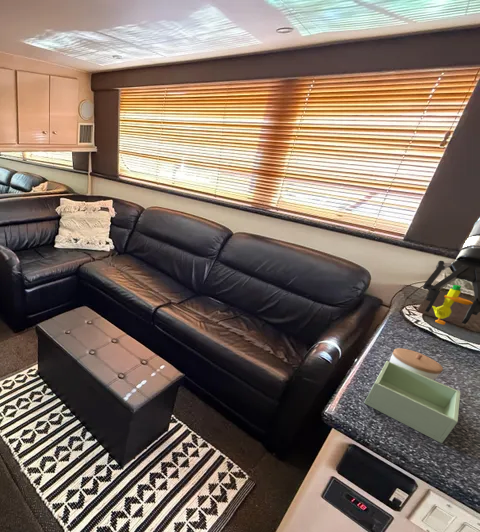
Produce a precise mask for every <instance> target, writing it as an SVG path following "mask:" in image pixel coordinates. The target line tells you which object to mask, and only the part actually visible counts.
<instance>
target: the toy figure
mask: <svg viewBox="0 0 480 532" xmlns="http://www.w3.org/2000/svg"><path fill="white" fill-rule="evenodd" d="M461 288H462V286H461V285H457V284H453V285H452V287H450V289H449V290H448V291H447V294H444V296H443V298H444V300H443V303H442V304H441V305H440V306H437V307H436V306H435V305H432V307H431V308H432V309H433V312H434V315H435V317H436V318H437V319H435V321H434V323H437V324H438V325H442V326H445V325H446V321H444V320H443V319H446V318H450V316H451V315H452V312H453V311H452V309H451V307H452V306H453V305H454V303H457V304H458V303H459V304H461V305H465V306H469V305H470V306H471V304H473V302H474V301H472V300H470V299H466V298H463V297H460V294H461V292H462V289H461Z"/></svg>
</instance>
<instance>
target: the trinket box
mask: <svg viewBox="0 0 480 532" xmlns="http://www.w3.org/2000/svg"><path fill="white" fill-rule="evenodd" d="M388 361H389V362H392V363H394V364H396V365H399V366H401V367H403V368H406V369H408V370H410V371H413V372H415V373H417V374H420V375H422V376H425V377H427V378H429V379H432V380H434V381H436V380H437V378H438V377H439V376H440V374H441V373H442V372H443V370H444V368H443V366H442V364H440V363H439V362H438V361H436V360H435V359H433V358H432V357H429V356H427V355H425V354H423V353H420V352H417V351H414V350H411V349H408V348H401V347H400V348H399V347H397V348H395V349H393V350H392V354H391V356H390V358H389V360H388Z"/></svg>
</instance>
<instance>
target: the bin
mask: <svg viewBox="0 0 480 532" xmlns="http://www.w3.org/2000/svg"><path fill="white" fill-rule="evenodd" d="M389 361H390V360H386V361H385V363H384V364H383V367H382V368H381V370H380V372H379V374H378V376H377V377H376V379H375V381H374V383H373V385H372V387H371V389H370V390H369V392H368V394H367V396H366V398H365V400H364V402H363V404H364V405H366V406H368V407H370V408H372V409H374V410H376V411H378V412H380V413H382V414H384V415H386V416H388V417H389V418H391V419H393V420H396V421H398V422H399V423H401V424H403V425H405V426H407V427H409V428H411V429H413V430H415V431H416V432H419V433H421V434H423V435H425V436H427V437H428V438H431V439H432V440H435V441H436V442H438V443H440V444H443V443H444V442H445V440H446V439H447V438H448V436H449V435H450V433H451V432H452V431H453V429H454V428H455V426H456V425H457V424H458V422H459V412H460V401H461V391H460V390H457V389H455V388H453V387H451V386H448V385H446V384H443V383H441V382H439V381H437V380H432V379H429V378H427V377H425V376H422V375H420V374H417V373H415V372H413V371H410V370H408V369H406V368H403V367H401V366H399V365H396V364H394V363H392V362H389Z"/></svg>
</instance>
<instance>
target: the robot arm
mask: <svg viewBox="0 0 480 532" xmlns="http://www.w3.org/2000/svg"><path fill="white" fill-rule="evenodd" d="M447 269H449V270H450V271H451V273H450V274H449V275H447V276H446V277H444V278H443V279H441V280H440V281H438V282H437V283H436V284H434V283H435V280H437V279H438V277H439V276H440V275H441V273H442V271H446V270H447ZM456 280H462V281H466V282H470V283H471V285H472V287H473V288H472V289H473V295H474V300H473V301H472V302H473V304H470V306H469V308H468V310H467V311H466V313H465V315H464V317H463V320H462V321H461V324H464V325H466V324H467V323H468V322H469V321H470V319H471V317H472V315H474V316H478V315H479V314H480V217H479V218H478V219H477V220H476V222H475V223H474V224H473V227H472V229H471V231H470V233H469V235H468V237H467V239H466V240H465V242H464V243H463V244H462V247H461V249H460V251H459V253H458V254H457V256H456V258H455V259H454V261H451V263H450V262H445V260H438V262H437V264H436V266H435V269H434V271H433V272H432V273H431V274H430V276H428V278H427V280H426V281H425V282H424V284H423V286H422V289H423V290H427V291H428V294H427V296H426V297H425V300H426V301H427V302H429V303H428V304H427V307H426V308H425V310H424V312H426V313H429V312H430V310H431V309H432V308H433V307H432V306H434V304H435V302H436V300H437V298H438V297H439V294H440V292H441V290H442V289H443V288H445V287H447V286H448V285H449V284H451V283H452V282H454V281H456ZM433 284H434V285H433Z"/></svg>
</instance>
